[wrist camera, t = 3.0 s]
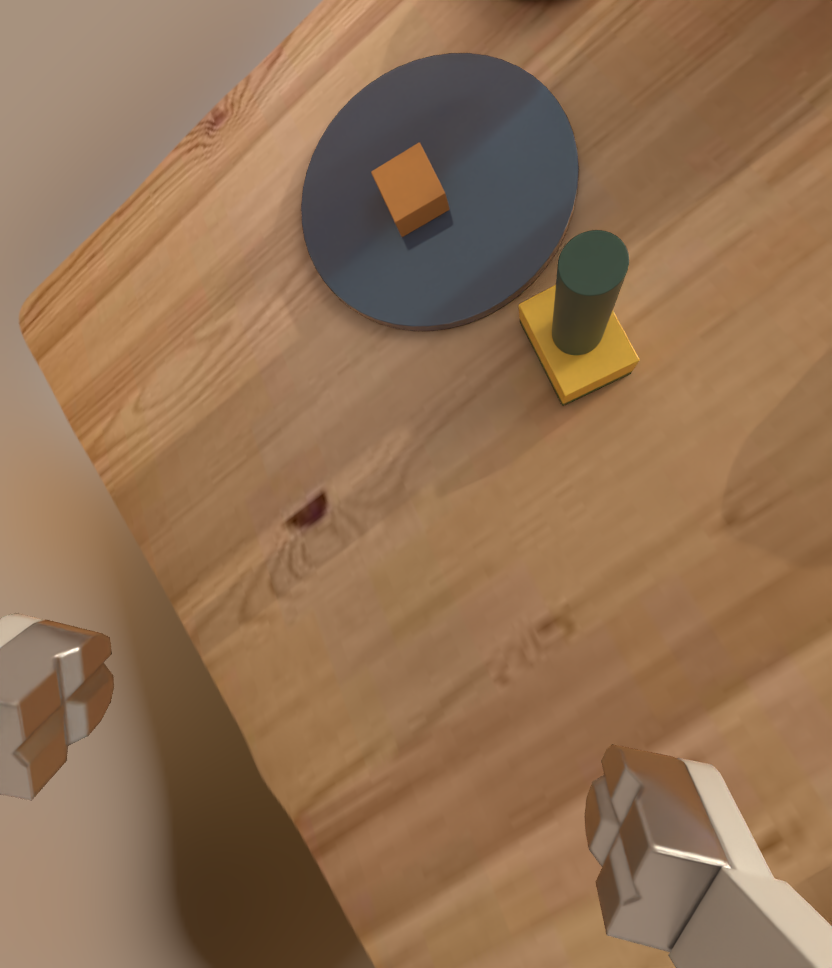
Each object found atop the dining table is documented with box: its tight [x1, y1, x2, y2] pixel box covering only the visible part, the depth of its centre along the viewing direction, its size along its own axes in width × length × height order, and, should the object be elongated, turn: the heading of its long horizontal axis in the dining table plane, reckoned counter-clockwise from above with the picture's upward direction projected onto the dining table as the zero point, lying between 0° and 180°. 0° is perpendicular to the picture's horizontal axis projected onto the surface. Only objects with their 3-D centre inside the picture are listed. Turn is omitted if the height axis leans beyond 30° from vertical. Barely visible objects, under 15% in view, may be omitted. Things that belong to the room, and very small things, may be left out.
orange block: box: [371, 143, 449, 237], centre depth 37 cm, size 4×4×2 cm
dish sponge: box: [519, 230, 639, 406], centre depth 30 cm, size 7×5×12 cm
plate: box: [301, 53, 579, 331], centre depth 38 cm, size 21×21×1 cm
